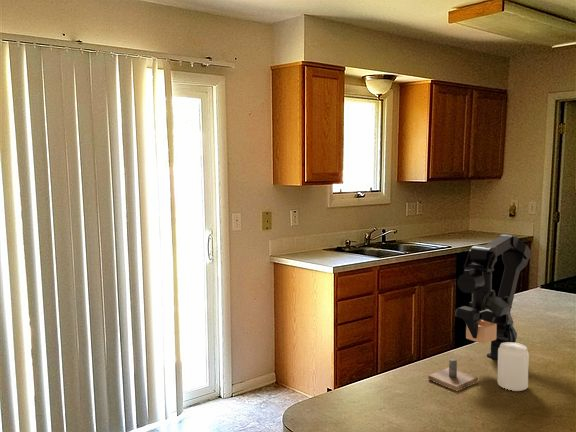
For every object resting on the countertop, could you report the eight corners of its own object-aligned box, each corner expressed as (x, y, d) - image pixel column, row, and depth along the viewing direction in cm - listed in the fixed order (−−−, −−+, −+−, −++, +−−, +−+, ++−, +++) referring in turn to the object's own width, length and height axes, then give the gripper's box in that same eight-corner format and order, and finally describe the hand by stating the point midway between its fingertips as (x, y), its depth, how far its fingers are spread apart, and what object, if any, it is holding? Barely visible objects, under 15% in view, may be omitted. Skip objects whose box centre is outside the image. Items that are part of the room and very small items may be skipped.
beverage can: (510, 394, 145) (510, 353, 143) (491, 382, 152) (492, 343, 151) (534, 390, 147) (535, 349, 146) (514, 379, 155) (515, 340, 153)
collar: (478, 334, 166) (478, 319, 165) (496, 339, 160) (496, 323, 160) (466, 338, 162) (466, 323, 161) (484, 344, 157) (484, 328, 156)
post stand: (449, 371, 161) (449, 351, 160) (477, 382, 153) (477, 361, 152) (428, 380, 155) (428, 359, 155) (456, 391, 147) (456, 369, 147)
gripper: (487, 297, 148) (486, 349, 149) (523, 286, 158) (522, 336, 160) (454, 289, 157) (454, 339, 158) (490, 280, 167) (489, 327, 169)
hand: (481, 335), depth 161 cm, fingers closed on collar, 6 cm apart
